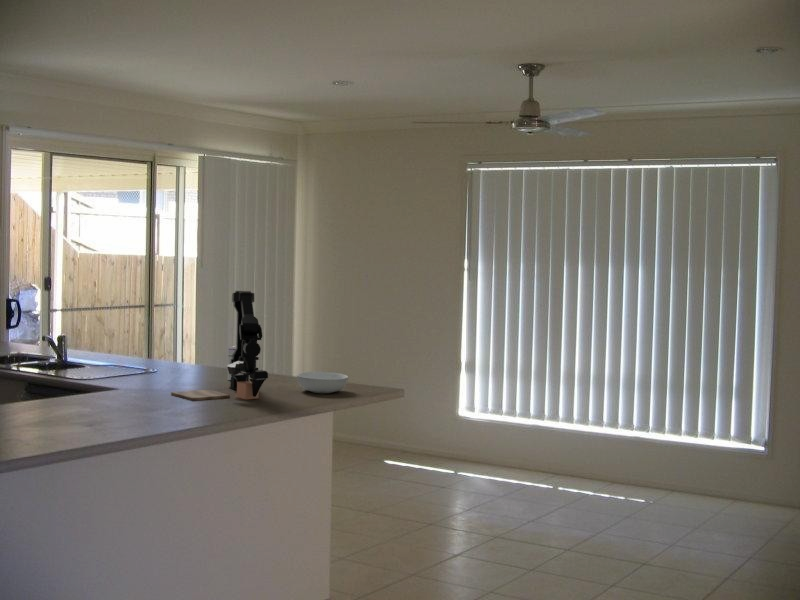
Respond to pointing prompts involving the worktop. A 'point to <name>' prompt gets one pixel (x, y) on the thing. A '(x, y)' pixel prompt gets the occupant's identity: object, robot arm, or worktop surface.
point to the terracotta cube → (245, 390)
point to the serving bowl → (322, 381)
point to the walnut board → (200, 395)
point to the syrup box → (230, 353)
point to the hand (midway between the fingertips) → (247, 394)
